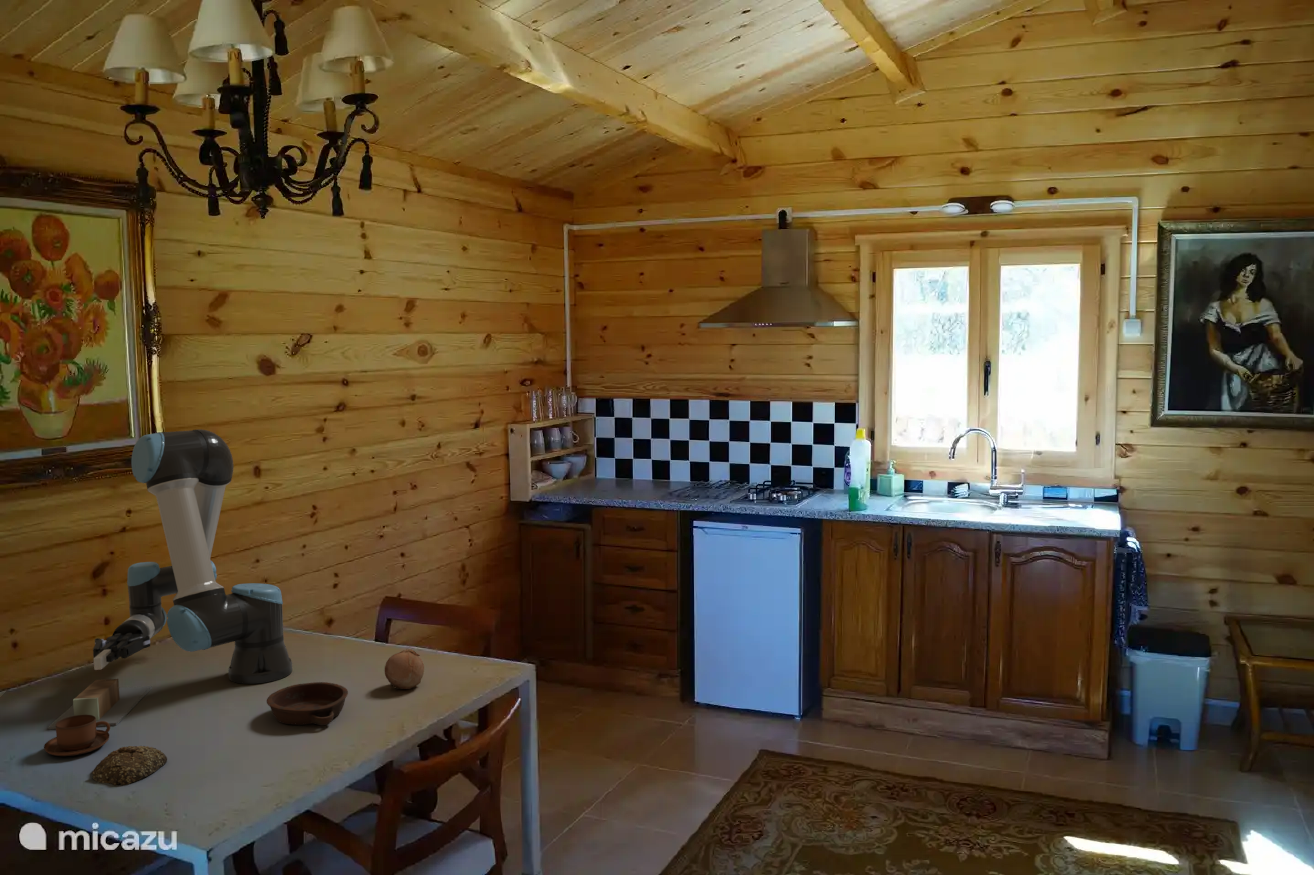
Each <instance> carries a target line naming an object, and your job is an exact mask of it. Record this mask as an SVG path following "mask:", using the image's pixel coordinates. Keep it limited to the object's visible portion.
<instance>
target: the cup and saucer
mask: <svg viewBox="0 0 1314 875" xmlns="http://www.w3.org/2000/svg"><path fill="white" fill-rule="evenodd" d="M101 724H104V725H106V726H105V727H106V729H105V730H103V729H97V726H98V725H101ZM110 730H111V726H110V725H109V723H108V722H105V721H99V722H96V717H95V716H93V715H76V716H71V717H67V718H64V719H62V720H60V721H58V722H57V723H56V729H55V735H56V737H53V738H51V739H49V740H48V741H46V742H45V743H44V744H43V750H44V751H45V752H46V753H47V754H49V755H52V756H57V757H72V756H78V755H83V754H87V753H90V752H93V751H96V750H98V749H99V748H101V747H102V746H104V745H105V744H106V743H107V742H108V741H109V739H110V733H109V732H110Z"/></svg>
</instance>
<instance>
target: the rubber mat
mask: <svg viewBox="0 0 1314 875" xmlns="http://www.w3.org/2000/svg"><path fill="white" fill-rule="evenodd" d="M152 689H153V685H143V686H142V685H141V686H122V687H120V686H119V696H120V699H119V700H118V701H117V702H116V703H115V704H114V705H113V706H112V707H111V708H110V709H109V710H108V711H107V712H106V713H105V714H104V715H103V716H102V717H101V718H100V719H99V720H96V722H99V721H105V722H108V723H109V725H110V727H113V726H117V725H118V724H119V723H120V722H121V721H122V720H123V719H124V718H125V717H126V716H127V715H128V714H129V713H130V712H131V711H132V710H133V708H135V707H136V706H137V705H138V703H140V701H141V700H142V699H143V698H145V696H146V695H147V694H148V693H149V692H150V691H151V690H152ZM71 716H74V706H73V704H72V705H71V706H70V707H68V708H67V710H66V711H64V712H63V713H61V715H60V716H59V717H57V718H56V719H55V720H54V721H53V722H52V723H51V724H50V725H49V726H48V727H47V729H48V730H56V723H57V722H58V721H60V720H62V719H64V718H67V717H71ZM97 727H106V725H104V724H101V725H98V726H97ZM97 727H96V728H97Z"/></svg>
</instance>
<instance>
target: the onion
mask: <svg viewBox="0 0 1314 875" xmlns="http://www.w3.org/2000/svg"><path fill="white" fill-rule="evenodd" d="M420 656H421V655H420V654H419V653H417V652H416V651H415V650H413V649H411V648H407V649H404V650H402V651H400V652H397V653H394V654H392V655H391V656H390V657H389V658H388V659H387V660H386V663H385V665H384V675H385V678H386V680H387V681H388V682H389V684H390V686H392V687H393V688H394V689H397V690H399V691H401V690H409V689H410V690H411V689H412V688H413V689H414V688H417V686H419V685H420V684H421V683H422V682H421V681H422V680H423V677H424V673H425V665H424V664H425V663H424V661H423V660H422V658H421V657H420Z"/></svg>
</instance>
